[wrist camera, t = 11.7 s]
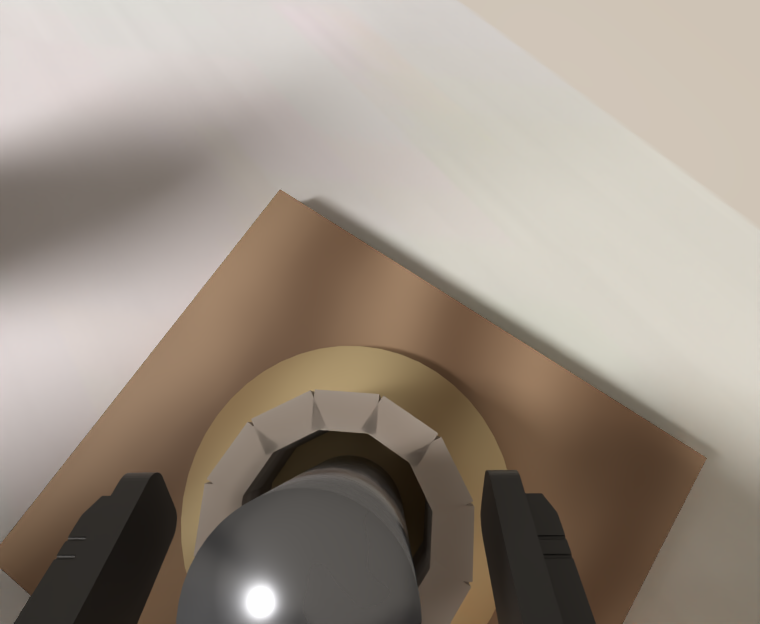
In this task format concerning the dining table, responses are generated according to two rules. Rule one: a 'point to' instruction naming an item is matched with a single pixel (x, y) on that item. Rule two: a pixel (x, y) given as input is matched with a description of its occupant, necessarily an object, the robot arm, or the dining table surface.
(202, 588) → the grey metal cylinder
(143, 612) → the socket fitting
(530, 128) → the dining table surface
